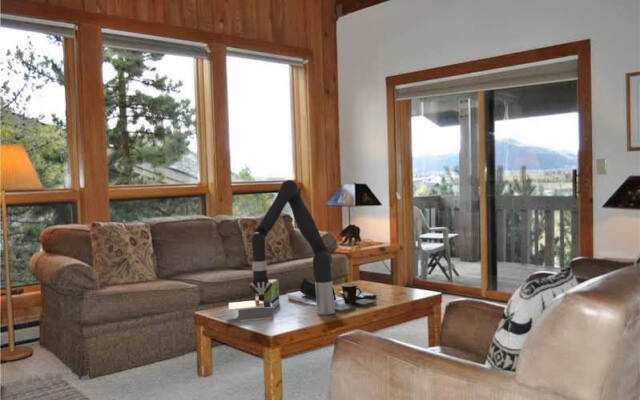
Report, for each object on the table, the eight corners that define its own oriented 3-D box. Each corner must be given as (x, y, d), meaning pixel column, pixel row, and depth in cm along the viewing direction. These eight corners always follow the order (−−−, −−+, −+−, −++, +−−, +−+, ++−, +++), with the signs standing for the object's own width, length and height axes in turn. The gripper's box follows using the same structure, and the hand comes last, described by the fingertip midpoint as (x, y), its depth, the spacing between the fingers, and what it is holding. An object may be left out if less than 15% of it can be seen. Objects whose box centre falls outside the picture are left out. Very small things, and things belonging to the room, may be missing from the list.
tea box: (272, 310, 311) (271, 284, 310) (255, 310, 313) (254, 284, 312) (280, 303, 326) (278, 278, 325) (263, 303, 328) (262, 278, 327)
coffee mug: (340, 301, 323) (339, 284, 322) (353, 299, 326) (352, 282, 326) (349, 305, 312) (348, 288, 311) (362, 303, 315) (361, 286, 315)
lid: (262, 301, 307) (262, 295, 307) (264, 307, 293) (264, 301, 293) (228, 304, 304) (228, 298, 304) (228, 310, 290) (228, 304, 290)
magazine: (338, 287, 320) (306, 267, 341) (334, 288, 318) (302, 268, 339) (334, 314, 324) (303, 292, 346) (330, 315, 322) (299, 293, 344)
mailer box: (271, 311, 308) (270, 301, 307) (273, 318, 294) (272, 307, 294) (238, 314, 305) (237, 304, 305) (239, 321, 291) (238, 310, 291)
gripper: (247, 271, 294) (249, 303, 295) (272, 269, 296) (274, 301, 297) (247, 268, 301) (249, 300, 302) (271, 266, 303) (273, 298, 304)
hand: (261, 300), depth 300 cm, fingers closed
